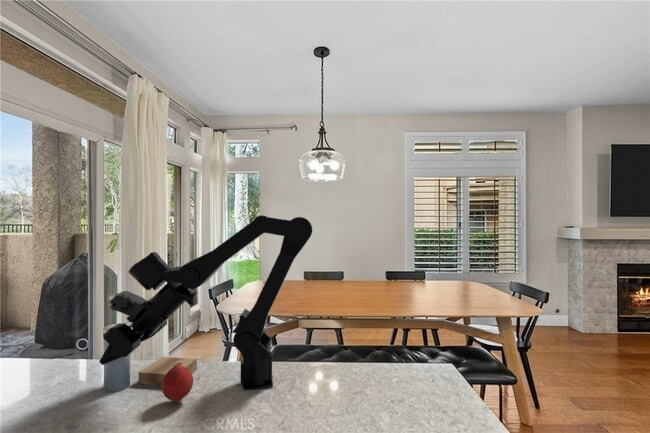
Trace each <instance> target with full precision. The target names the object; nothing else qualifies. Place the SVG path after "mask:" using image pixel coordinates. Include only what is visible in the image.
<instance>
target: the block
mask: <svg viewBox="0 0 650 433" xmlns="http://www.w3.org/2000/svg"><path fill="white" fill-rule="evenodd" d="M178 361H181V362H182V366H184V367H186V368H187V369H188V370H189V371H190V372H191V374H192V375H193V373H194V372H196V370H197V369H198V359H197V358H190V357H189V358H188V357H173V356H172V357H169V356H162V357H161V358H159V359H157V360H156V361H154V362H152V363H151V364H150V365H148V366H146V367H144V368H143V369H141V370H140V371H138V384H141V385H152V386H162V381H163V378H164V376H165V375H166V373H167V372H168V371H169V370H170V369H171V368H173V367H174V365H175V364H176V363H177V362H178Z"/></svg>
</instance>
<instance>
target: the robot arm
mask: <svg viewBox="0 0 650 433" xmlns="http://www.w3.org/2000/svg"><path fill="white" fill-rule="evenodd" d="M263 234H269V235H274V236H275V235H277V236H282V237H283V239H282V242H281V247H280V249H279V250H280V251H279V253H278V255H277V257H276V260H275V262H274V264H273V266H272V268H271V269H270V272H269V274H268V276H267V278H266V281H265V283H264V285H263V287H262V289H261V291H260V293H259V296H258V297H257V299H256V301H255V304H254V305H253V307H252V308H251V309H250V310H249V309H247V308H244V309H243V311H242V313H241V314H240V317H239V319H238V322H237V324H236V325H235V327H234V328H233V330H232V334H234V335H233V339H232V340H233V341H232V342H233V344H234V347H235V348H236V350H237V351H238V352H240V354H241V356H242V359H243V360H240V384H241V385H242V390H244V391H245V390H246V391H248V390H255V389H265V388H273V387H274V380H273V354H272V351H271V348H272V347H271V346H272V342H273V339H272V338H271V337H270V335H268V334H267V333H266V332H265V327H266V324H267V320H268V316H269V312H270V311H271V309H272V307H273V305H274V302H275V300H276V298H277V296H278V294H279V292H280V290H281V287H282V285H283V283H284V281H285V280H286V277H287V275H288V273H289V271H290V269H291V267H292V265H293V262H294V260H295V259H296V257H297V256H298V255H299V253H300V252H301V251H302V250H303V248H304V247H305V245H306V244H307V243H308V241H309V240H310V238H311V236H312V234H313V225H312V223H311V221H310V220H309V219H307V218H305V217H302V216H297V217H294V218H292V219H290V220H289V219H284V218H283V219H282V218H276V217H269V216H266V215H263V214H262V215H257V216H255V218H253V220H252V221H251V222H249V223H247V225H245V226H244V227H243V228H241V229H240V230H238V231H237V232H235V233H234V234H233V235H231V236H230V237H229V238H228V239H226V240H225V241H223V242H222V243H221V244H220V245H218V246H216V247H215V248H214V249H212V250H211V251H209V252H207V253H205V254H203V255H200V256H199V257H197V258H194V259H192V260H190V261H188V262H186V263H185V264H183V265H181V266H178V265H177V266H174V267H173V268H172V267H171V266H170V265H169V264H167V263H166V262H165V261H164V259H162V257H161V256H160V254H158V252H156V251H153V252H149V254H148V255H146V256H145V257H144V258H142V259H141V260H138V261H137V262H135V263H134V264H133V265H132V266H131V267H130V268H129V270H128V271H127V272H128V274H129V275H130V276H132V278H133V279H134V280H135V281H137V283H139V284H140V286H142V287H143V288H144V289H145V290H146V291H151V290H153V291H157V290H158V289H159V288H160V290H158V292H156V294H154V296H152V297H151V298H149V299H148V300H147V299H145V298H144V297H142V296H140V295H138V294H135V293H133V292H130V291H127V290H124V291H120V292H117V294H115V296H114V297H113V298H112V299H111V300H110V301H109V303H110V307H109V308H110V309H111V310H112V311H116V312H118V313H121V314H123V315H127V317H126V318H125V319H126V320H127V321H128V322H129V323H130V324H131V325H130V326H131V328H130V327H129V326H128V325H126V324H125V322H124V323H116V324H117V325H115V326H113V327H112V328H110V329H109V330H108V331H107V332H106V333H105V334H102V337H103V340H104V339H105V340H106V341H107V342H108V343H109V345H108V347H107V349H106V351H105V352H104V351H103V354H102V356H101V358H100V359H99V363H100V364H101V365H102V366H104V364H107V363H109V362H111V361H114V360H116V359H119V358H121V357H127V356H128V355H129V354H130V355H131V354H132V353H134V352H135V350H136V349H137V348H139V347H140V346H141V344H142V342H145V341H146V340H149V339H150V338H153V337H154V336H156V335H157V333H159V332H160V331H162V330H163V329H164V328H165V327H166V326H167V325H168V320H169V319H170V318H172V316H174V314H175V312H176V311H177V310H178V309H179V308H181V306H183V305H184V303H187V304H188V305H189V306H190V307H192V306H194V305H195V304H196V303H198V291H197V290H195V289H197V288H199V287H200V286H203V285H204V284H206V283H207V282H208V281H209V280H210V279H211V278H212V277H213V276H214V275H215V274H216V273H217V272H218V270H219V269H220V268H221V267H222V266H223V265H224V264H225V262H227V261H229V260H230V259H231V258H232V257H234V256H235V255H236V254H239V252H241V251H242V250H243V249H244V248H246V247H247V246H248V245H250V244H252V243H253V242H254V241H255V240H257V239H258V238H260V237H261V236H262V235H263ZM164 284H165V285H164ZM163 285H164V286H163ZM162 286H163V287H162ZM161 287H162V288H161ZM193 290H194V291H193Z"/></svg>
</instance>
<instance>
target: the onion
mask: <svg viewBox="0 0 650 433" xmlns="http://www.w3.org/2000/svg"><path fill="white" fill-rule="evenodd" d="M193 384H194V376H193V373H192V374H191V372H190V371H189V370H188V369H187V368H186V367H184V366H182V362H181V361H178V362H177V363H176V364H175V365H174V367H173V368H171V369H170V370H169V371H168V372H167V373H166V375H165V376H164V378H163V381H162V385H161V391H162V394H163V396H164V397H165V398H166V399H167V400H168V401H169V400H170V401H172V402H174V403H180V402H181V401H182V400H183V399H184V398H186V396H188V395H189V394H190V392H191V390H192V389H193V386H194V385H193Z"/></svg>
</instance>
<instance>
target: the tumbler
mask: <svg viewBox="0 0 650 433" xmlns="http://www.w3.org/2000/svg"><path fill="white" fill-rule="evenodd" d="M124 323H125V322H124ZM117 324H118V323H115V324H114V323H113V324H109V325H106V326H103V328H102V335H104V334H105V333H106V332H107V331H108V330H109V329H110V328H112V327H113V326H115V325H117ZM125 324H126V325H128V326H129V327H130V328H131V329H132V327H131V326H130V325H131V324H132V323H125ZM108 345H109V343H108V342H107V341H106V340H105V339H104V338H103V353H104V352H105V351H106V349H107V347H108ZM130 385H131V354H129V355H128V356H127V357H121V358H119V359H116V360H114V361H111V362H109V363H107V364H104V365H103V391H104V392H106V393H115V392H118V391H123V390H125V389H127V388H129V387H130Z"/></svg>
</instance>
